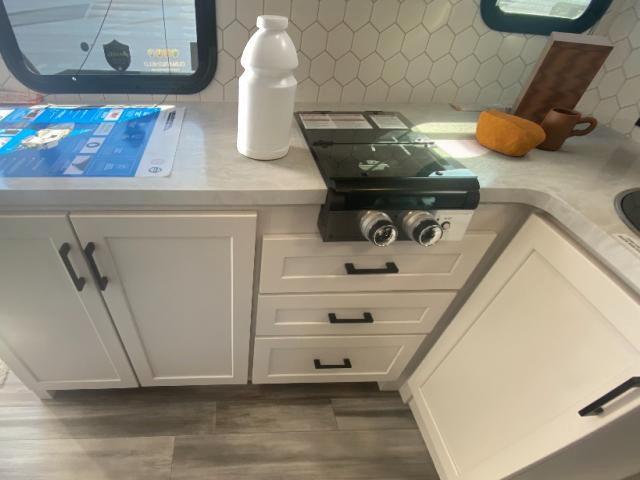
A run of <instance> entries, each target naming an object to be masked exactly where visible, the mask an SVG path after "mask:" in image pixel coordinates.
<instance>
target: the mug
mask: <svg viewBox="0 0 640 480" xmlns="http://www.w3.org/2000/svg"><path fill="white" fill-rule="evenodd" d="M583 124H589V125H588V126H587V127H586V128H584V129H575V128H576V126H578V125H583ZM540 127H541V128H542V129H543V130H544V132H545V135H546V137H545V140H544V141H543V142H542V143H541V144H539V145H537V146H536V147H535V148H537V149H540V150H543V151H544V150H545V151H551V152H553V151H558V150H560V149H561V148H562V146H563V145H564V144H565V143H566V141H567V139H570V138H573V137H584V136H586V135H589V134H591V133H592V132H593V131H594V130H595V129H596V128H597V127H598V119H597V118H596V117H593V116H584V117H583V113H581V112H579V111H577V110H570V109H565V108H552V109H551V110H550V111H549V113H548V114H547V116H546V117H545V119H544V120H543V122H542V124H541V125H540Z"/></svg>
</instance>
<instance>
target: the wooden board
mask: <svg viewBox="0 0 640 480" xmlns="http://www.w3.org/2000/svg"><path fill="white" fill-rule="evenodd" d="M614 48H615V45H614V44H613V43H611V42H610V40H608V38H607V37H606V36H605V35H604V36H603V35H594V34H593V35H592V34H582V33H572V32H561V31H551V33H550V35H549V37H548V39H547V41H546V42H545V44H544V47H543V48H542V50H541V52H540V54H539V56H538V57H537V60H536V61H535V63H534V65H533V67H532V69H531V71H530V73H529V74H528V76H527V78H526V80H525V82H524V84H523V86H522V88H521V89H520V91H519V93H518V95H517V97H516V98H515V101H514V102H513V104H512V106H511V109H510V113H509V114H510V115H514V116H517V117H520V118H523V119H526V120H529V121H532V122H534V123H536V124H538V125H539V126H540V125H541V124H542V122H543V120H544V119H545V117H546V116H547V114H548V113H549V111H550V110H551V109H552V108H565V109H570V110H574V109H575V108H576V107H577V105H578V104H579V102H580V100H581V99H582V98H583V96H584V95H585V93H586V91H587V89H588V88H589V86H590V85H591V84H592V82H593V81H594V79H595V77H596V76H597V74H598V73H599V71H600V70H601V68H602V67H603V65H604V63H605V62H606V60H607V59H608V57H609V56H610V54H611V53H612V52H613V49H614ZM574 111H575V110H574Z"/></svg>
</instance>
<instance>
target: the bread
mask: <svg viewBox="0 0 640 480" xmlns="http://www.w3.org/2000/svg"><path fill="white" fill-rule="evenodd" d="M475 137H476V140H477V141H478V143H479V144H480V145H481V146H483V147H484V148H487V149H489V150H492V151H495V152H498V153H501V154H504V155H506V156H510V157H511V156H512V157H521V156H524V155H525V154H527V153H529V152H530V151H532V150H534V149H535V148H537V147H536V146H537V145H539V144H541V143H542V142H543V141H544V140H545V137H546V135H545V132H544V130H543V129H542V128H541V127H540V126H539V125H538V124H536V123H534V122H532V121H529V120H526V119H523V118H520V117H517V116H514V115H510V113H506V112H505V111H502V110H496V109H495V110H494V109H493V110H482V111H481V113H480V114H479V118H478V121H477V124H476V128H475Z"/></svg>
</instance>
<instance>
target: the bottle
mask: <svg viewBox="0 0 640 480" xmlns="http://www.w3.org/2000/svg"><path fill="white" fill-rule="evenodd" d="M256 27H257V28H259V29H258V30H257V31H256V32H255V33H254V34H252V36H251V37H250V38H249V40H248V42H247V43H246V46H245V47H244V49H243V52H242V55H241V58H240V64H241V65H242V67H243V68H244V72H242V74H241V76H240V77H238V117H237V118H238V121H237V123H238V124H237V125H238V126H237V130H238V131H237V143H236V144H237V151H238V152H239V153H240V154H241V155H242V156H244V157H247V158H251V159H254V160H261V161H262V160H263V161H268V160H269V161H270V160H271V161H272V160H277V159H280V158H283V157H285V156H286V155H287V154H288V153H289V150H290V146H291V145H290V140H291V134H292V128H293V127H292V126H293V118H294V111H295V103H296V96H297V89H298V81H297V79H296V78H295V76H294V71H295V70H296V69H297V68H298V67H299V58H298V52H297V49H296V47H295V45H294V42H293V39H292V38H291V37H290V35H289V34H288V33H287V31H286V29H288V28H289V18H288V17H287V16H282V15H271V14H270V15H269V14H265V15H264V14H263V15H259V16H257V19H256Z"/></svg>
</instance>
